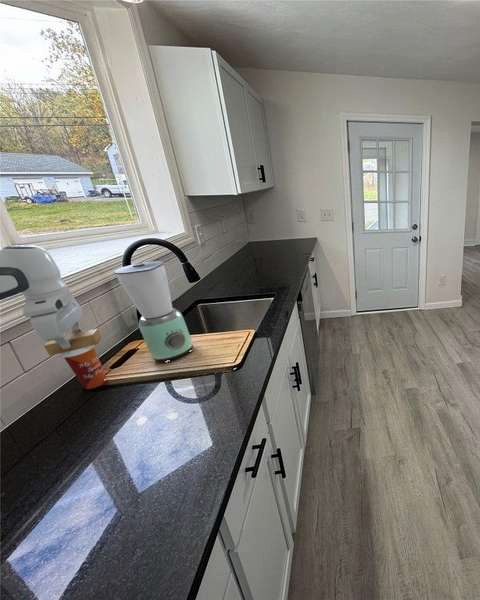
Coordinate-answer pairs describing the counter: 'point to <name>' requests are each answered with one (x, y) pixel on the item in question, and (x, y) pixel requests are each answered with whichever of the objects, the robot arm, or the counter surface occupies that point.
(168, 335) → the juicer
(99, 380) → the paper cup
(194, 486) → the counter surface
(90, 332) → the oak bar
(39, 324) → the robot arm
